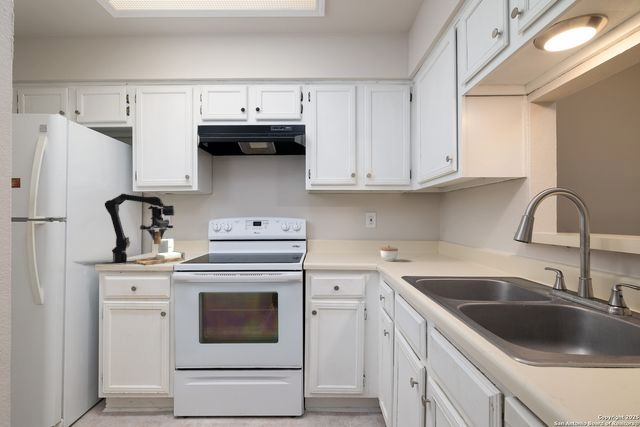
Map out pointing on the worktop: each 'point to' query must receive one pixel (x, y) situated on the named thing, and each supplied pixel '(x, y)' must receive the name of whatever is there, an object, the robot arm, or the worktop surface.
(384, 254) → the lidded jar
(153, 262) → the rail base
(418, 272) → the worktop surface
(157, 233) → the dowel
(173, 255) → the socket block
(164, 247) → the supplement box
